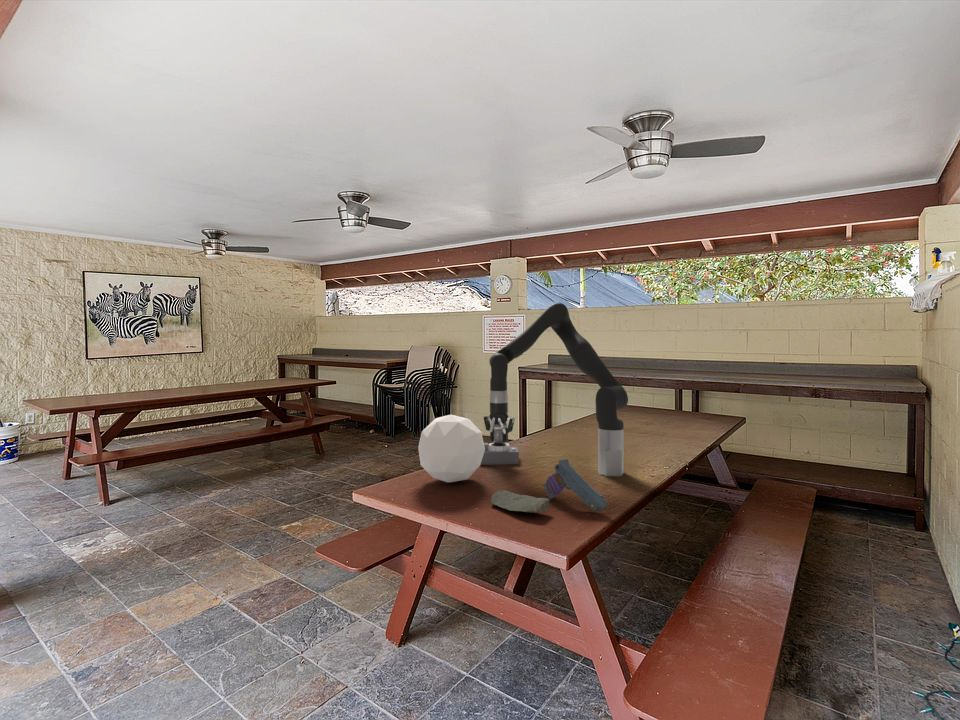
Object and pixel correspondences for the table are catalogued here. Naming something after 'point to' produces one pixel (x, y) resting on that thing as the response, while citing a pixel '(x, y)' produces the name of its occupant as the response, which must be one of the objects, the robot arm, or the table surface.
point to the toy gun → (573, 486)
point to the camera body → (500, 454)
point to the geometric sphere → (451, 448)
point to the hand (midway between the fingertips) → (499, 441)
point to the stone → (519, 502)
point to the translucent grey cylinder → (498, 435)
